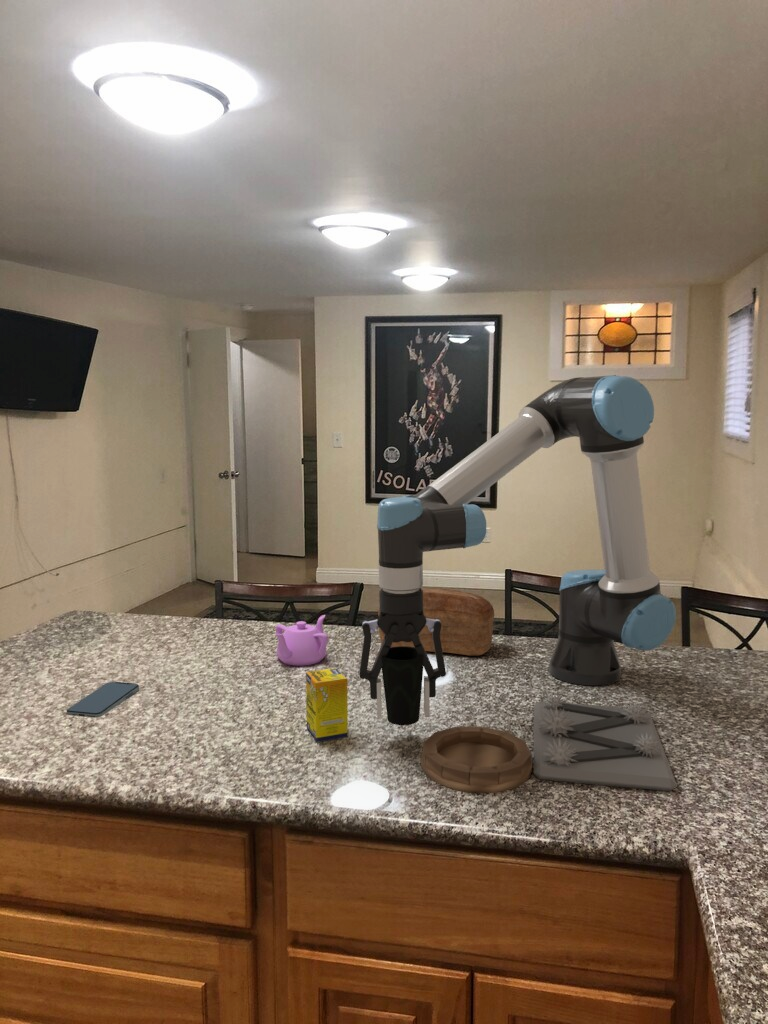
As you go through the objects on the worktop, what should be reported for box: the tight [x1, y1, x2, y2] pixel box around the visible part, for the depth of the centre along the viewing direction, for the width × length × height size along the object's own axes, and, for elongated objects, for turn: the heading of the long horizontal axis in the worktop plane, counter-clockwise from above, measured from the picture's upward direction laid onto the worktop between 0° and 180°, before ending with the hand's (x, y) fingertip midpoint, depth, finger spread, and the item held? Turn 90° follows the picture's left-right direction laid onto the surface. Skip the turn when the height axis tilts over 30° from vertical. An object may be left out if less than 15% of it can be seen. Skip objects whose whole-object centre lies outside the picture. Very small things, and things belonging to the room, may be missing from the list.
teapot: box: [274, 614, 329, 667], centre depth 178 cm, size 12×14×9 cm
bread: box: [377, 587, 495, 656], centre depth 187 cm, size 12×28×14 cm, turn 74°
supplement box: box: [305, 667, 349, 743], centre depth 138 cm, size 6×6×11 cm
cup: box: [381, 646, 424, 726], centre depth 135 cm, size 8×8×12 cm
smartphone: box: [66, 681, 140, 718], centre depth 153 cm, size 8×2×15 cm
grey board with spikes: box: [533, 692, 678, 792], centre depth 134 cm, size 30×22×7 cm
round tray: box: [420, 726, 533, 794], centre depth 126 cm, size 18×18×3 cm
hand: (403, 714), depth 136 cm, fingers closed on cup, 8 cm apart
